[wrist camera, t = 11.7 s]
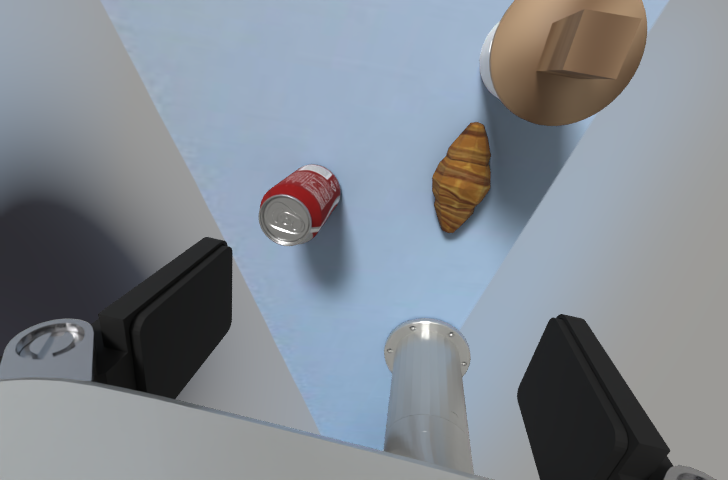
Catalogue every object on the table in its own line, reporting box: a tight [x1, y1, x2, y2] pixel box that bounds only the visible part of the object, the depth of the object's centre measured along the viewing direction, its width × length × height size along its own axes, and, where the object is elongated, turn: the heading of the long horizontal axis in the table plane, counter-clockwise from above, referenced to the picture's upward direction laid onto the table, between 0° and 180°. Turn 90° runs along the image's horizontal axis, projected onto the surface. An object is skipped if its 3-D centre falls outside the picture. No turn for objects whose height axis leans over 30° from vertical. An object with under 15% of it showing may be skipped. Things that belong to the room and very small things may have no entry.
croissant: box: [432, 122, 491, 233], centre depth 43 cm, size 14×7×5 cm, turn 171°
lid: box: [489, 0, 647, 126], centre depth 25 cm, size 10×10×7 cm
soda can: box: [259, 164, 341, 246], centre depth 43 cm, size 7×7×12 cm
